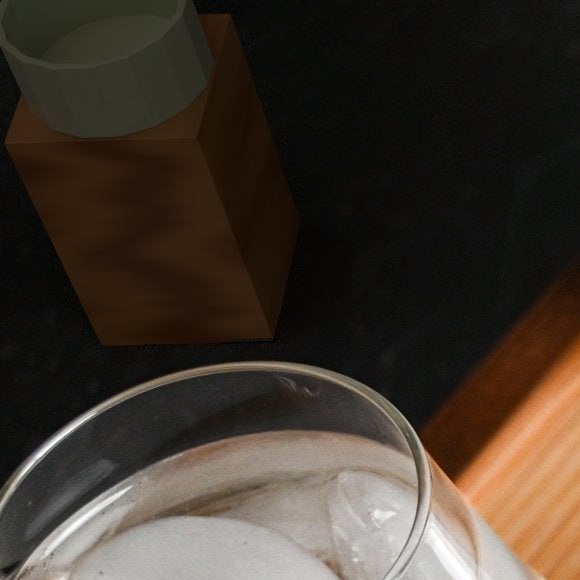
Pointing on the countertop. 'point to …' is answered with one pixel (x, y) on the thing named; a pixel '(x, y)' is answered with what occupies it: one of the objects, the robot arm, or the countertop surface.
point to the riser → (170, 213)
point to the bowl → (105, 61)
